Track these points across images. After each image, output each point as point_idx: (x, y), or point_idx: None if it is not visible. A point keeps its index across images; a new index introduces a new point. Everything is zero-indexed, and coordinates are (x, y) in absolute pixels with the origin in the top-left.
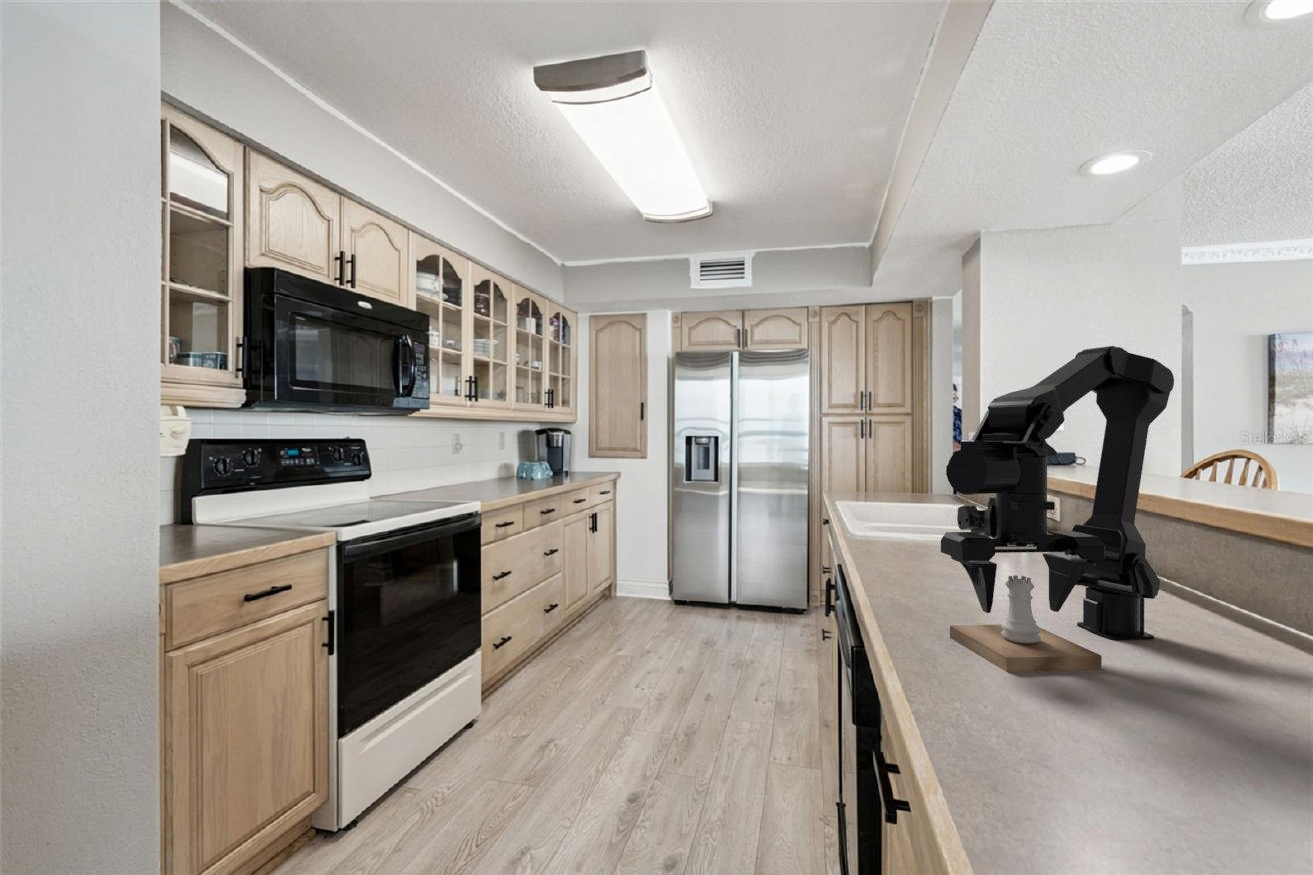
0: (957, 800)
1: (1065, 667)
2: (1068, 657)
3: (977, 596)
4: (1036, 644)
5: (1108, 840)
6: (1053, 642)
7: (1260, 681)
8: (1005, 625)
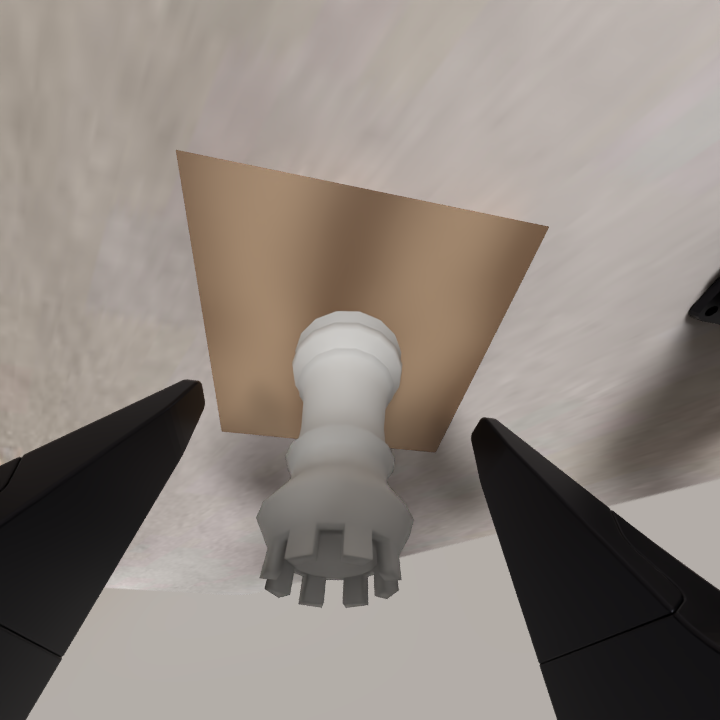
0: None
1: None
2: None
3: (115, 415)
4: None
5: (142, 582)
6: (417, 385)
7: (598, 488)
8: (293, 371)
